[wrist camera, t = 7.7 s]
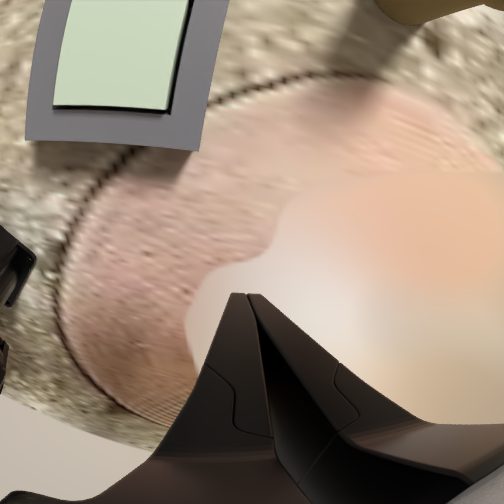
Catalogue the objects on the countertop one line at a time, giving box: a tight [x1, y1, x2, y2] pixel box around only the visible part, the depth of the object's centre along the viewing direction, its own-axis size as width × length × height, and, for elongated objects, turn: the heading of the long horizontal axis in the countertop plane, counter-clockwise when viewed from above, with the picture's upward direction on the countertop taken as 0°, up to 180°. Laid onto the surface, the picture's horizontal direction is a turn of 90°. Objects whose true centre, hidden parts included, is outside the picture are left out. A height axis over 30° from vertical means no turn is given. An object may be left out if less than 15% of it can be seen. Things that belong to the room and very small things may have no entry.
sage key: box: [53, 0, 190, 110], centre depth 13 cm, size 6×6×3 cm
